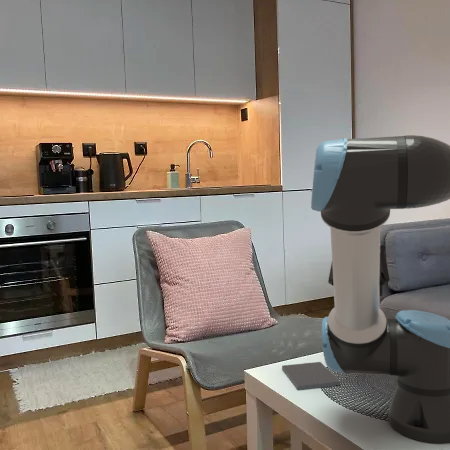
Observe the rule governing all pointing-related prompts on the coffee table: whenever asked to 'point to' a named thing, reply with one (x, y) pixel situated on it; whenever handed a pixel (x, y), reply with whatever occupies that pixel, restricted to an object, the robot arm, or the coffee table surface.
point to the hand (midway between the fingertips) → (359, 309)
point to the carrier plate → (310, 375)
